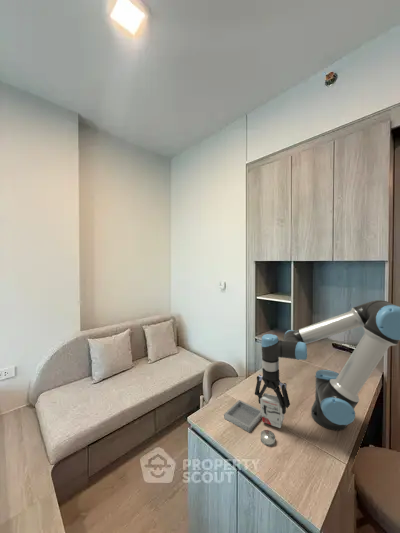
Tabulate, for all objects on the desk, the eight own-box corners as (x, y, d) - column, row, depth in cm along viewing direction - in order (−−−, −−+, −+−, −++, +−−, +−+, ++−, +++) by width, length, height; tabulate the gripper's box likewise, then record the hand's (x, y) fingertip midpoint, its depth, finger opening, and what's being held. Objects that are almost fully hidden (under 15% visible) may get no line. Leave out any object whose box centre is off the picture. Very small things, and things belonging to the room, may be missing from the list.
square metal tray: (263, 416, 112) (263, 411, 112) (249, 432, 101) (249, 427, 101) (239, 404, 121) (239, 399, 121) (224, 418, 111) (224, 413, 111)
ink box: (262, 422, 106) (261, 397, 106) (265, 416, 110) (264, 392, 110) (280, 428, 102) (279, 403, 101) (283, 422, 106) (282, 397, 106)
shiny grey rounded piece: (277, 439, 98) (277, 434, 98) (272, 449, 93) (272, 443, 93) (263, 433, 101) (263, 427, 101) (258, 441, 97) (258, 436, 97)
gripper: (297, 371, 101) (298, 420, 102) (253, 359, 115) (255, 401, 116) (291, 379, 95) (292, 430, 96) (246, 364, 110) (247, 409, 110)
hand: (272, 414), depth 106 cm, fingers closed on ink box, 9 cm apart
